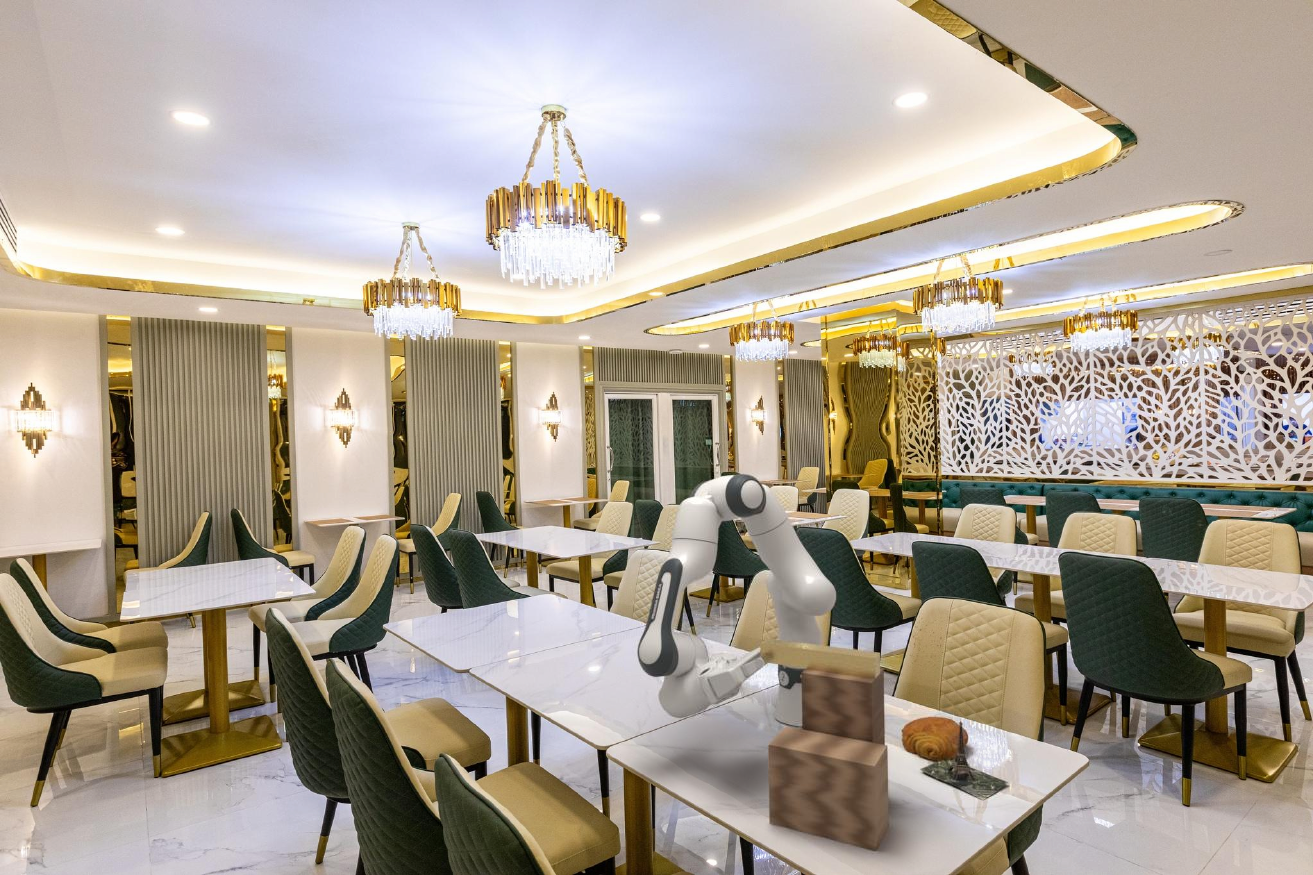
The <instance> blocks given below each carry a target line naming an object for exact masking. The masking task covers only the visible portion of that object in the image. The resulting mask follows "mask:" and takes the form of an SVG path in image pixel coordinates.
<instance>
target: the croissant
mask: <svg viewBox="0 0 1313 875" xmlns="http://www.w3.org/2000/svg"><path fill="white" fill-rule="evenodd" d="M959 731H960V724H959V723H958V722H956V721H955V720H953V719H952V718H947V717H942V716H927V717H919V718H916V719H914V720H912V721H909V722H907V723H906V724H905V725H904V726H903V728H902V729H901V737H902V738H901V740H902V741H901V742H902V745H903V746H904V748H905V750H906V751H907V752H908V753H911V754H912V755H919V756H920V757H922V758H925V759H927V760H931V761H935V762H938V761H941V760H946V759H950V760H952V759H953V760H954V759H955V758H956V755H957V751H958V745H959ZM962 732H963V745H964V748H965V747H966V746H967V744H968V743H969V734H968V731H967V730H966V729H965V728H964V727H963V726H962Z"/></svg>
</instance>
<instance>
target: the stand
mask: <svg viewBox="0 0 1313 875" xmlns="http://www.w3.org/2000/svg"><path fill="white" fill-rule="evenodd" d="M801 677H802V726H801V727H802V728H798V727H797V728H796V727H794V726H793V727H791V726H785V727H784V728H783V729H782V730H781V731H780V732H779V733H778V734H777V735H776V736H775V737H774V738H773V739H772V741H770V742H769V743H768V746H767V747H768V748H767V749H768V750H767V751H768V752H767V754H768V755H767V756H768V804H769V805H768V807H769V808H768V810H769V811H768V813H769V814H768V815H769V824H771V825H775V826H778V827H783V828H786V829H790V830H794V831H798V832H801V833H805V834H810V835H814V836H818V837H820V838H824V839H828V840H831V841H836V842H840V843H844V844H848V845H852V846H856V847H859V848H863V849H866V850H867V849H868V850H870V851H875V852H877V850H878V848H879V845H880V844H881V842H882V840H883V838H884V835H885V833H886V831H887V829H888V827H889V825H890V824H889V822H890V821H889V818H890V816H889V814H890V813H889V767H888V766H889V762H888V760H889V759H888V758H889V757H888V750H889V749H888V745H887V744H886V737H885V734H886V731H885V730H886V728H885V727H886V726H885V725H886V724H885V720H886V719H885V668H881V667H880V674H879V675H878V676H877V678H876V679H874V678H868V677H861V676H854V675H847V674H840V673H833V672H827V671H820V670H813V669H805V670H804V671H803V672H802V673H801Z"/></svg>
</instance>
